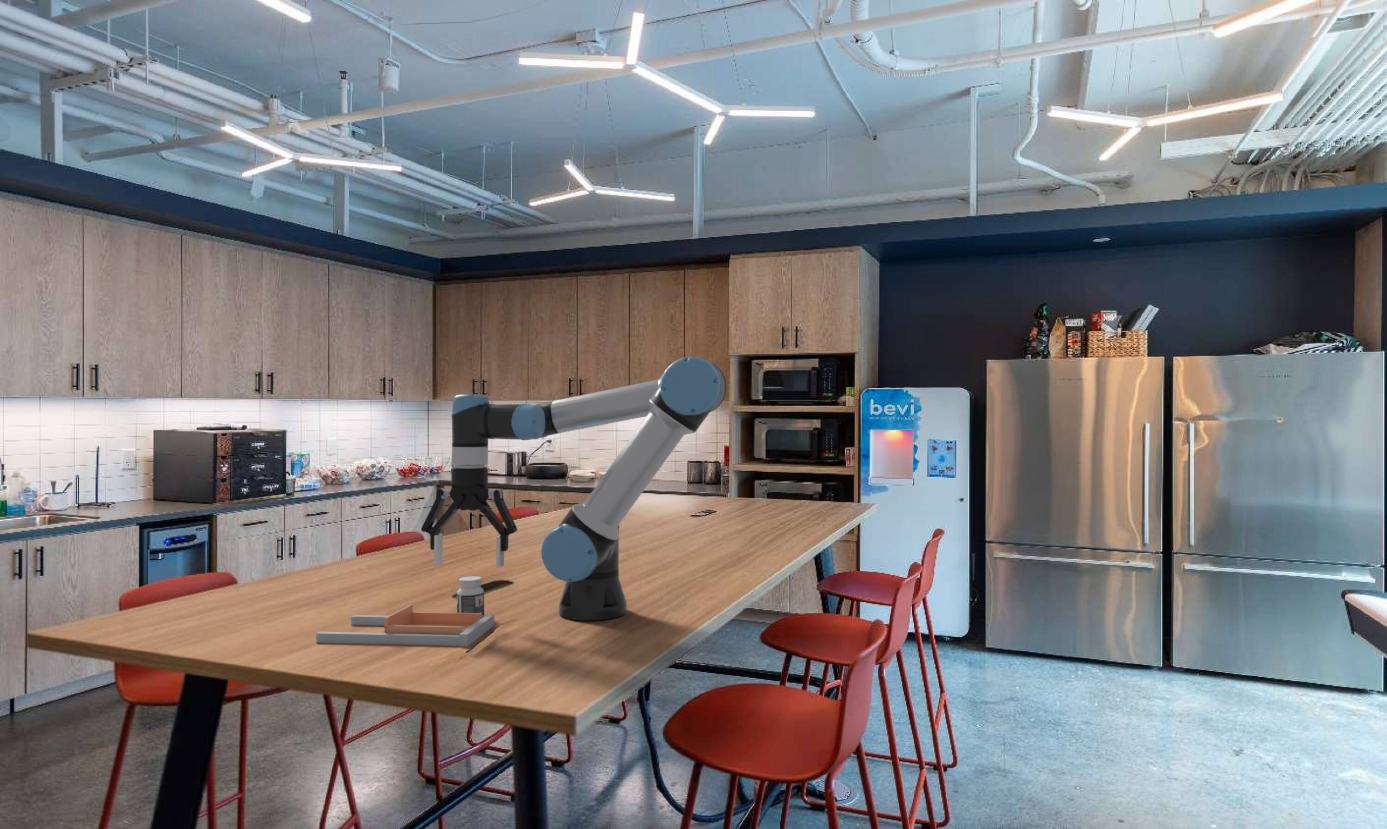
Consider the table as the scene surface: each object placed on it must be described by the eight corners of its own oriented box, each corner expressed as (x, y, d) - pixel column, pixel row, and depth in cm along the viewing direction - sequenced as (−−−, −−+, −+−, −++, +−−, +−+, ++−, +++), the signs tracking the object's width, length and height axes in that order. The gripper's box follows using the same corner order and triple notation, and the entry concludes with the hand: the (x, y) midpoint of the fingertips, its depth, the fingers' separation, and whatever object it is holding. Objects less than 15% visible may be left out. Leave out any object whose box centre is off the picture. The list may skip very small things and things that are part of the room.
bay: (493, 631, 169) (493, 614, 169) (467, 652, 154) (467, 634, 154) (354, 629, 171) (354, 612, 171) (315, 649, 156) (315, 631, 156)
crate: (481, 627, 167) (481, 605, 167) (461, 642, 156) (461, 619, 156) (409, 626, 168) (409, 604, 168) (384, 641, 157) (384, 617, 157)
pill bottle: (490, 622, 176) (489, 576, 176) (472, 629, 171) (472, 581, 171) (469, 620, 179) (469, 574, 179) (451, 626, 173) (450, 579, 173)
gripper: (531, 466, 177) (531, 563, 177) (421, 464, 180) (420, 561, 180) (521, 468, 170) (520, 570, 170) (406, 466, 172) (405, 567, 172)
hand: (469, 565), depth 175 cm, fingers open, 13 cm apart
